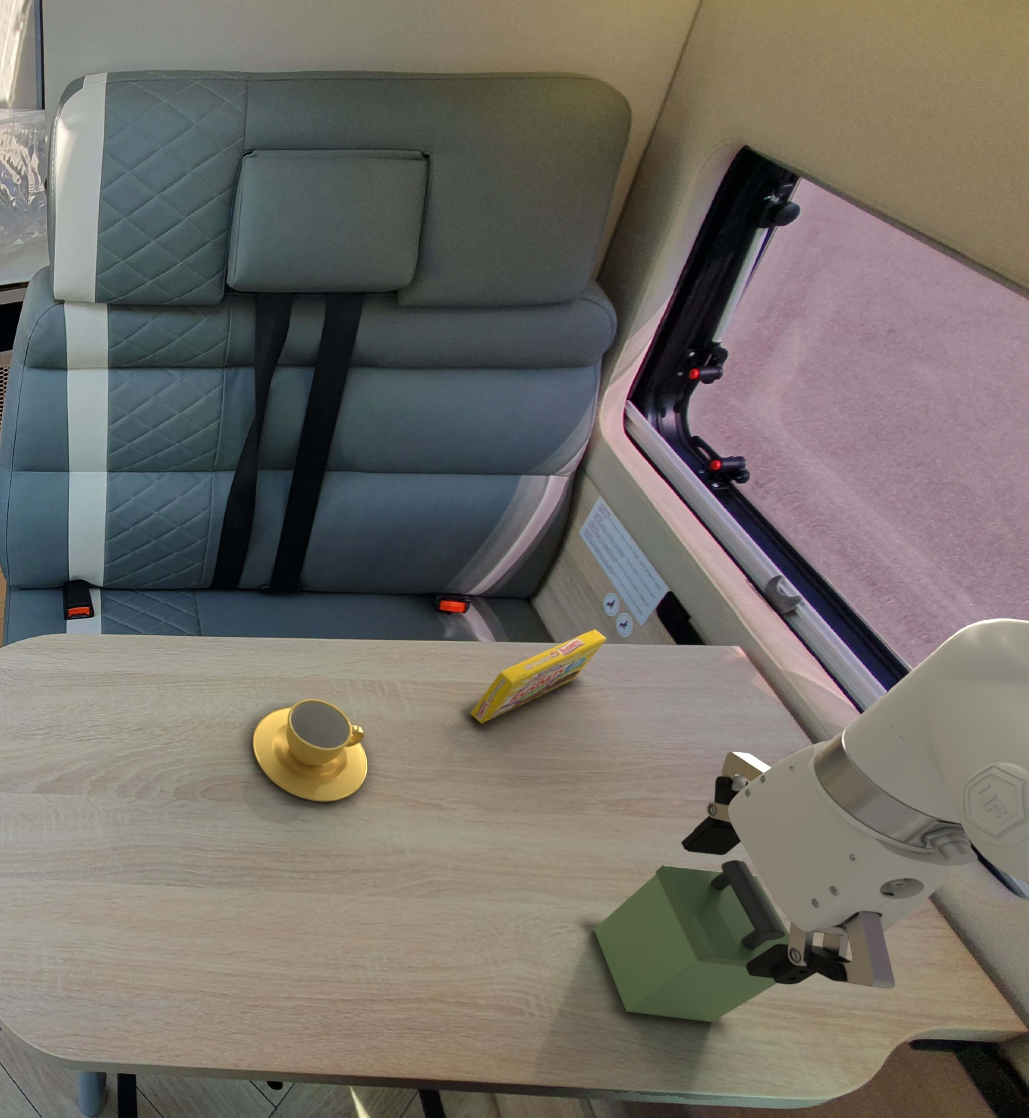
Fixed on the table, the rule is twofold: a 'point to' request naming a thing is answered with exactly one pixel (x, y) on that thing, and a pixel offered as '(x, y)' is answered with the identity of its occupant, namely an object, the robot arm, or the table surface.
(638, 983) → the lunchbox
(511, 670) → the candy box
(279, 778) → the cup
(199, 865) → the table surface
